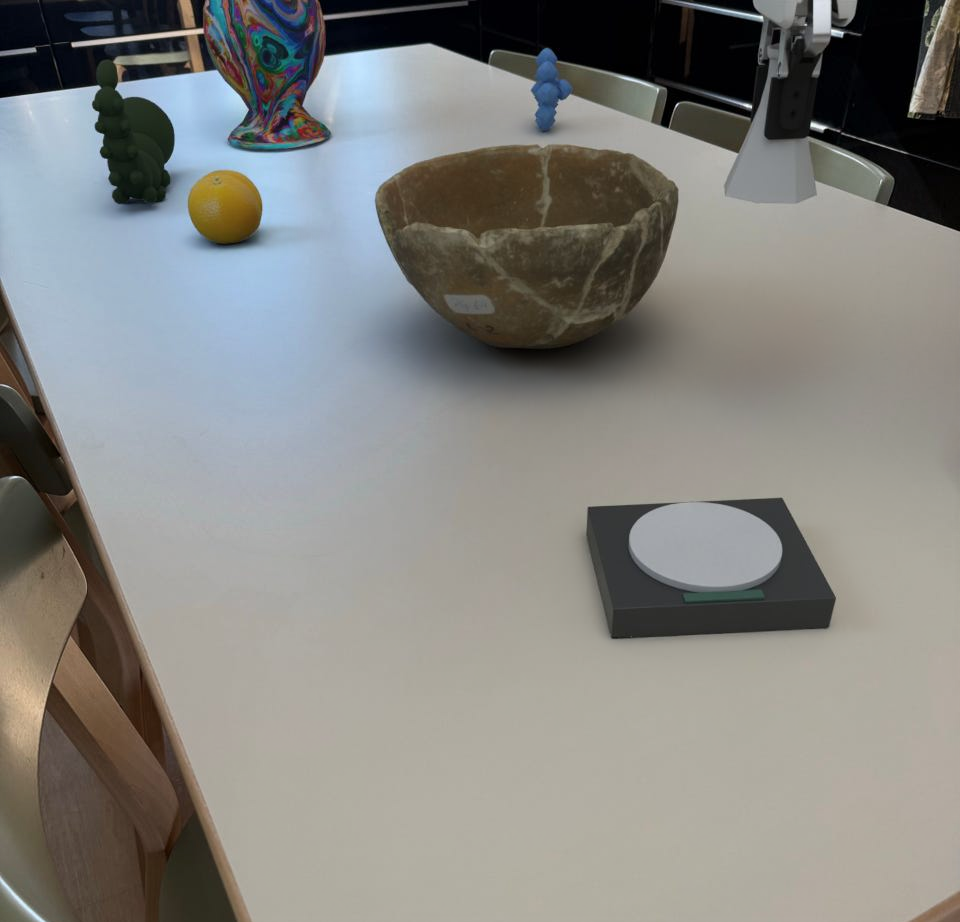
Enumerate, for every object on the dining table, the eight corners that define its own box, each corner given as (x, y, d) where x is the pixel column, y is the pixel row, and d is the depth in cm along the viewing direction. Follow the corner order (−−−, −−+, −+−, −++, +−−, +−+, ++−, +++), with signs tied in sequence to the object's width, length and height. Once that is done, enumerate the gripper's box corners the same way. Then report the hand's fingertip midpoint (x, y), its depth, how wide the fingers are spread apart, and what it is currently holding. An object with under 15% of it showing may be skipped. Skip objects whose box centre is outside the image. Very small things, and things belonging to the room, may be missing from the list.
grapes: (573, 139, 161) (576, 52, 153) (530, 140, 161) (531, 53, 153) (569, 121, 170) (572, 39, 162) (529, 122, 170) (530, 40, 162)
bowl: (483, 430, 86) (479, 251, 77) (343, 328, 104) (326, 172, 95) (727, 352, 97) (750, 187, 88) (563, 271, 115) (567, 127, 106)
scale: (777, 525, 74) (783, 489, 72) (829, 627, 65) (838, 590, 63) (586, 534, 74) (587, 499, 72) (611, 638, 65) (614, 601, 63)
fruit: (195, 254, 122) (181, 184, 117) (195, 233, 129) (182, 166, 124) (269, 248, 124) (258, 178, 119) (265, 227, 130) (255, 160, 125)
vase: (200, 140, 165) (159, -86, 146) (294, 120, 175) (267, -95, 156) (263, 160, 155) (228, -80, 136) (359, 137, 164) (338, -91, 145)
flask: (736, 177, 83) (753, 35, 76) (827, 186, 80) (852, 40, 74) (709, 201, 78) (725, 53, 71) (804, 212, 75) (830, 58, 69)
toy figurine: (173, 229, 136) (187, 161, 153) (139, 72, 122) (158, 17, 140) (101, 233, 135) (124, 165, 152) (58, 76, 121) (88, 20, 139)
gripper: (930, -187, 58) (864, 158, 70) (842, -187, 71) (798, 104, 83) (799, -182, 58) (754, 162, 70) (734, -183, 71) (705, 108, 82)
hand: (778, 128), depth 76 cm, fingers closed on flask, 3 cm apart
